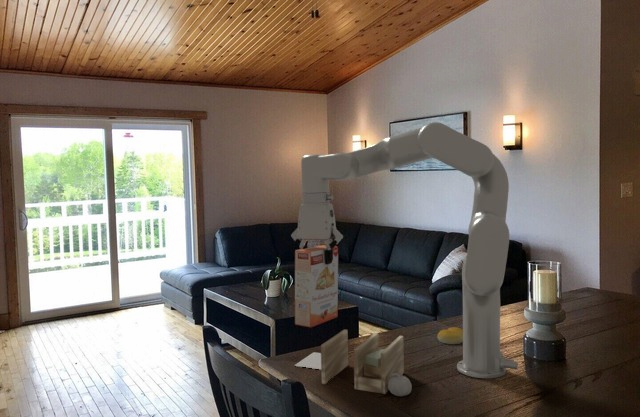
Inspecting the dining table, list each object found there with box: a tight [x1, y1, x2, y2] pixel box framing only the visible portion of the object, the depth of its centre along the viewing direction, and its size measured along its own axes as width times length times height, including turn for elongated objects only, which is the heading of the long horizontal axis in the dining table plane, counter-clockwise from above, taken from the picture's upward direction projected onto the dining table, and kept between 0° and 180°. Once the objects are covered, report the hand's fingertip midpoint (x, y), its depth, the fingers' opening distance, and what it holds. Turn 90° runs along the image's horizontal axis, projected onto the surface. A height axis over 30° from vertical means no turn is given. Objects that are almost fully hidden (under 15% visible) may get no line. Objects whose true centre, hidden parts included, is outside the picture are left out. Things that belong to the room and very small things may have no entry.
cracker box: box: [294, 244, 339, 328], centre depth 157 cm, size 14×6×21 cm, turn 146°
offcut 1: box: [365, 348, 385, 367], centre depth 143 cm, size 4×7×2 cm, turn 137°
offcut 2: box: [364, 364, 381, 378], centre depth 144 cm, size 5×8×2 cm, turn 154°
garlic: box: [388, 373, 413, 397], centre depth 135 cm, size 6×5×5 cm
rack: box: [320, 329, 405, 395], centre depth 145 cm, size 17×15×10 cm
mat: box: [293, 352, 321, 371], centre depth 159 cm, size 10×12×1 cm
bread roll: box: [436, 326, 463, 345], centre depth 175 cm, size 8×9×4 cm
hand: (317, 262), depth 157 cm, fingers closed on cracker box, 6 cm apart
